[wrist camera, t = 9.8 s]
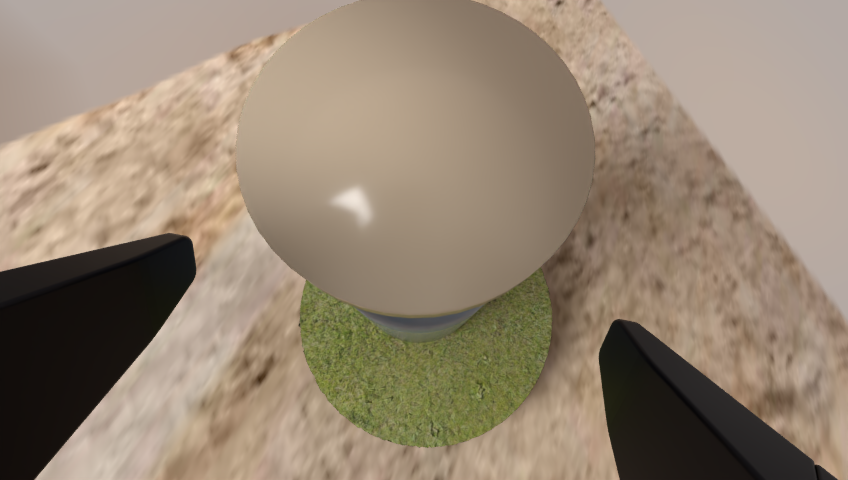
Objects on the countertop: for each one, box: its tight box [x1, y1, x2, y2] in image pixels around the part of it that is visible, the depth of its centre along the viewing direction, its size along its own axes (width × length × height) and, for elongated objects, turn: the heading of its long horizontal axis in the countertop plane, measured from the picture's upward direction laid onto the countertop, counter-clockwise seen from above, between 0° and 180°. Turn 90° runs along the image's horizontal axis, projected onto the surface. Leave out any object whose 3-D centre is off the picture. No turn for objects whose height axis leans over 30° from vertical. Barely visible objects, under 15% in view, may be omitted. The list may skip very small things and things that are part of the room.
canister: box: [236, 0, 595, 343], centre depth 13 cm, size 6×6×12 cm
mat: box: [299, 267, 552, 448], centre depth 19 cm, size 11×11×2 cm
